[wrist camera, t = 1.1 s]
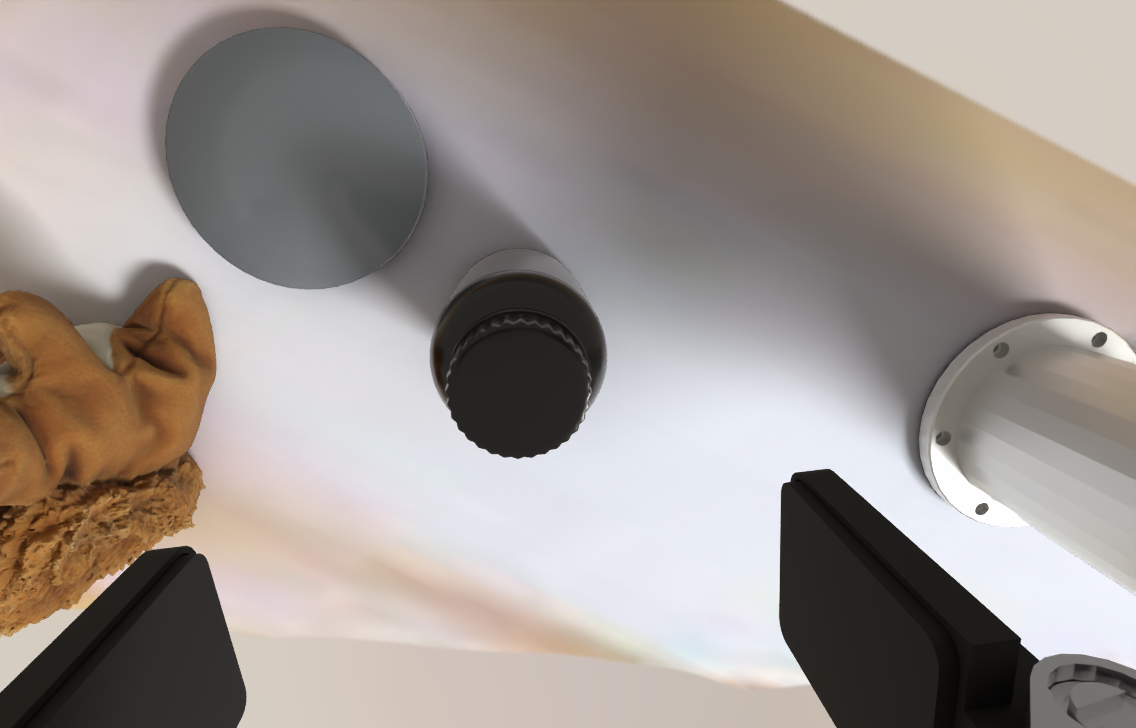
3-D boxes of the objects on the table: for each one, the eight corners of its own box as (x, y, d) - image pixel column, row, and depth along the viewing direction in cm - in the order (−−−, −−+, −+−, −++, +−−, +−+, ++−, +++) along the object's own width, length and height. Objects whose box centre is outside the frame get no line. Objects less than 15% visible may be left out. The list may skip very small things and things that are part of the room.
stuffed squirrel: (200, 261, 29) (-44, 318, 16) (266, 520, 33) (111, 724, 21) (-16, 281, 29) (-438, 356, 16) (78, 541, 33) (-200, 764, 20)
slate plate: (408, 26, 27) (402, 17, 25) (443, 273, 30) (440, 277, 29) (154, 46, 26) (133, 38, 25) (217, 295, 30) (201, 300, 28)
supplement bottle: (425, 289, 30) (368, 351, 19) (545, 222, 30) (561, 242, 18) (495, 401, 32) (482, 520, 21) (609, 339, 32) (659, 426, 20)
